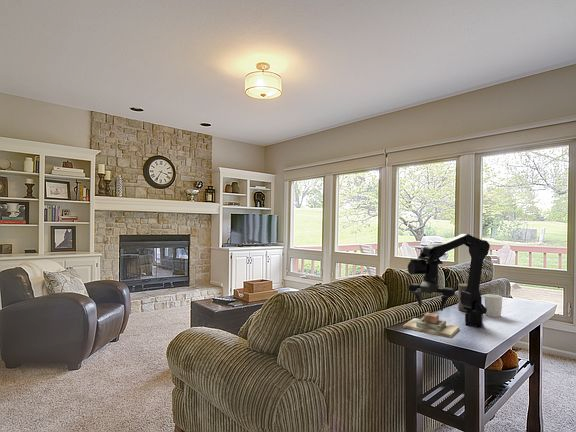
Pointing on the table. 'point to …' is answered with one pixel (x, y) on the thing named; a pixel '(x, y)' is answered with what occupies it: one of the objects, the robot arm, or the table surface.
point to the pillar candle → (461, 288)
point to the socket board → (432, 327)
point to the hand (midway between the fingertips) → (430, 308)
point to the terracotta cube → (431, 318)
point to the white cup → (493, 305)
